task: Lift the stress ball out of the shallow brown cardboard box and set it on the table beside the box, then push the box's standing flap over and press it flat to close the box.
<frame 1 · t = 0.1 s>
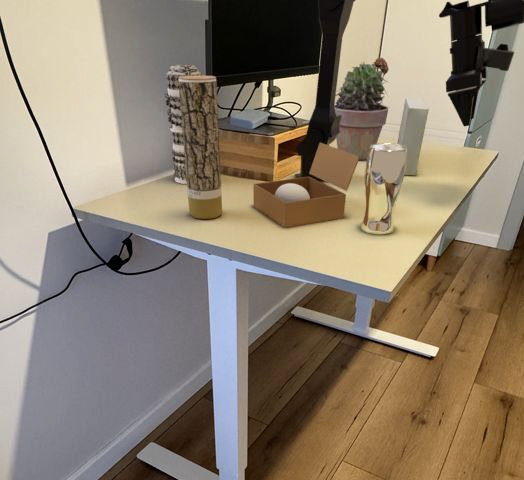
hand: (468, 122, 105), 15 cm above the table, tool pointing down, fingers open, 9 cm apart
stress ball: (293, 212, 103), resting on carton
decorative candle: (191, 180, 124), on the table
paper tube: (206, 215, 102), on the table
skincare box: (405, 166, 136), on the table
carton: (297, 211, 103), on the table
flap: (332, 165, 102), point 9 cm above the table, hinge at 110.0°
potted plant: (353, 157, 145), on the table
beer glass: (376, 229, 95), on the table
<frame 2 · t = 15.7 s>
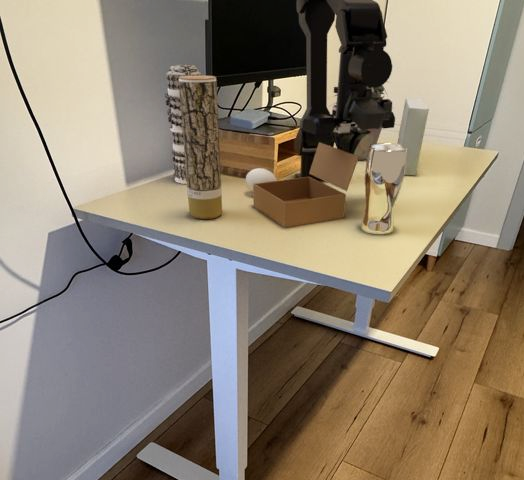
hand: (345, 166, 103), 8 cm above the table, tool pointing down, fingers closed
stress ball: (262, 194, 114), on the table
flap: (332, 165, 102), point 9 cm above the table, hinge at 108.1°, touching gripper
everything else where it was.
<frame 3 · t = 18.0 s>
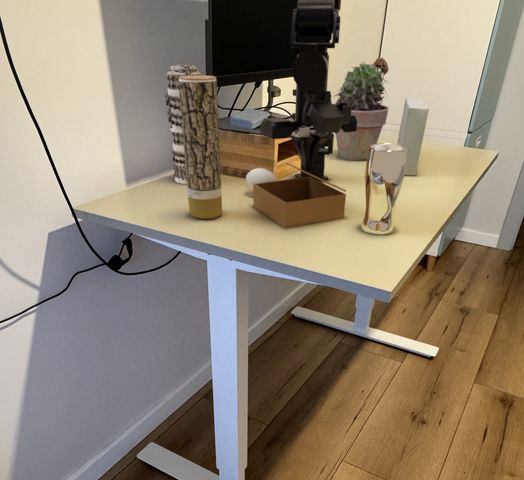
hand: (307, 171, 100), 8 cm above the table, tool pointing down, fingers closed
flap: (314, 176, 101), point 7 cm above the table, hinge at 26.0°, touching gripper
everything else where it was.
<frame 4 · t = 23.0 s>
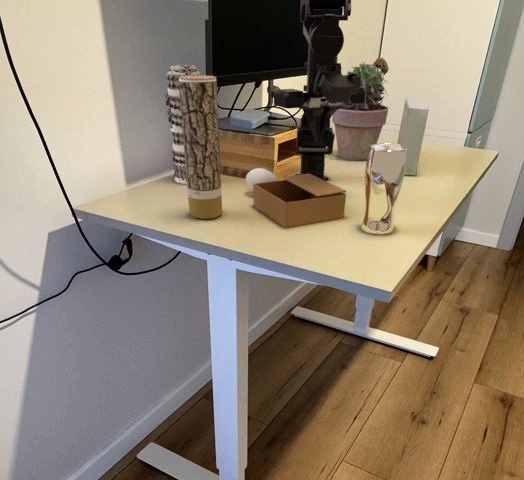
hand: (317, 142, 104), 12 cm above the table, tool pointing down, fingers closed
flap: (312, 184, 102), point 5 cm above the table, hinge at -0.3°
everything else where it was.
at the end: stress ball inside the target area (0.4 cm from its centre), on the table; the gripper is holding nothing; flap at +0° (first picture: +110°) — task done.
